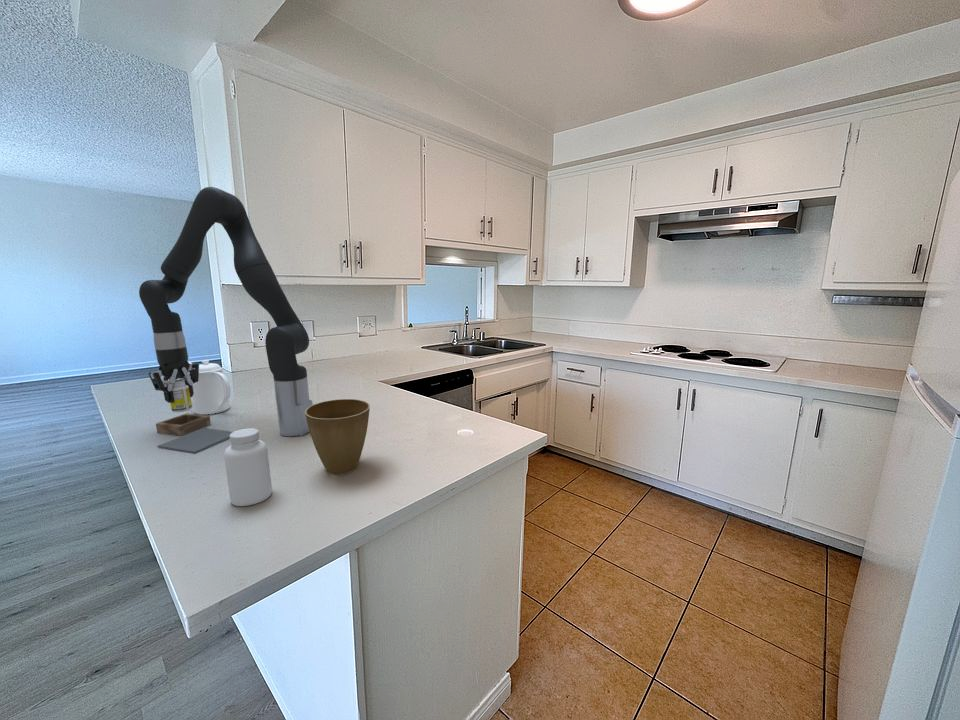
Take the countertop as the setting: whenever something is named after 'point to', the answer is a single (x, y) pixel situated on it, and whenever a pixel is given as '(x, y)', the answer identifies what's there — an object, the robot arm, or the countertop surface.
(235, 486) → the pill bottle
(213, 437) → the rubber mat
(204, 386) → the coffeepot
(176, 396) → the supplement bottle
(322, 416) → the plant pot
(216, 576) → the countertop surface
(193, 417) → the collar holder
